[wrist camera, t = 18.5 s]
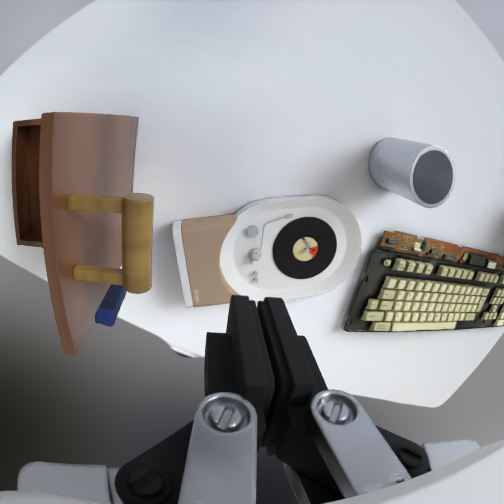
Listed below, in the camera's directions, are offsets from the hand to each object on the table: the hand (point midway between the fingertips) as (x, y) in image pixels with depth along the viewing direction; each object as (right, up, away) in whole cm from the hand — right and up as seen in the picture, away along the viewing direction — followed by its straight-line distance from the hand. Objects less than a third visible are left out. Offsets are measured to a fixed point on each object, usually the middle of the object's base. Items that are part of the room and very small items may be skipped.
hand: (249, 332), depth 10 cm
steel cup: (+16, +13, +21) cm, 29 cm away
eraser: (-15, -1, +23) cm, 28 cm away
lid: (-11, +5, +9) cm, 15 cm away
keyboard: (+35, -3, +31) cm, 47 cm away
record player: (+2, +3, +24) cm, 24 cm away
